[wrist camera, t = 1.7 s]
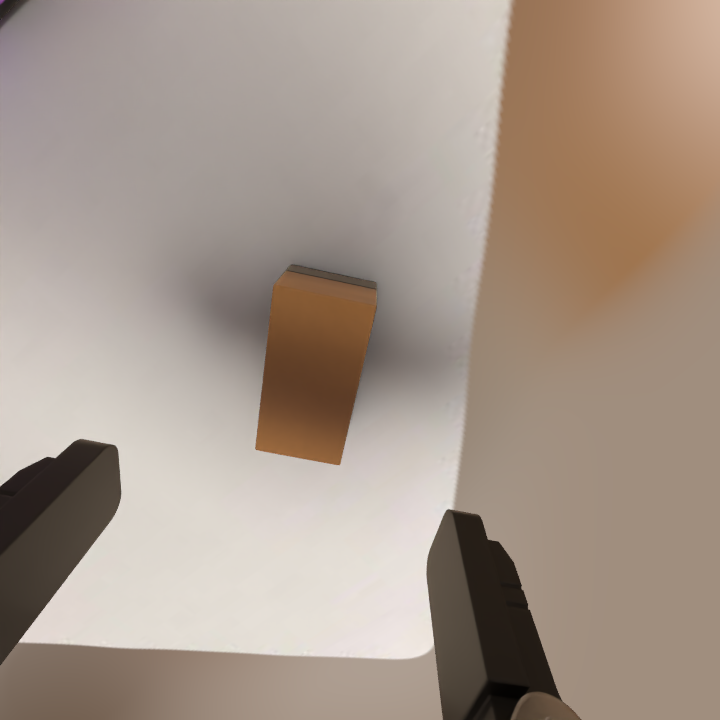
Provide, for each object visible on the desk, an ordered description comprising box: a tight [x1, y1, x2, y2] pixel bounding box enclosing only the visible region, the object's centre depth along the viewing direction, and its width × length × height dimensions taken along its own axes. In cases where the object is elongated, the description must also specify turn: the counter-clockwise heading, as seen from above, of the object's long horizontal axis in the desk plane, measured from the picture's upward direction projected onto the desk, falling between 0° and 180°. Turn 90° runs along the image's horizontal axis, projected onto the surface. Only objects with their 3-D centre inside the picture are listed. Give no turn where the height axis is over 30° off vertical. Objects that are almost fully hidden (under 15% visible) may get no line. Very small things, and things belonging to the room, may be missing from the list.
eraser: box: [255, 265, 377, 465], centre depth 16 cm, size 7×4×3 cm, turn 168°
